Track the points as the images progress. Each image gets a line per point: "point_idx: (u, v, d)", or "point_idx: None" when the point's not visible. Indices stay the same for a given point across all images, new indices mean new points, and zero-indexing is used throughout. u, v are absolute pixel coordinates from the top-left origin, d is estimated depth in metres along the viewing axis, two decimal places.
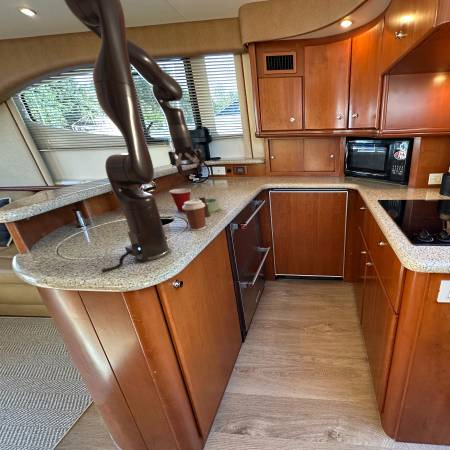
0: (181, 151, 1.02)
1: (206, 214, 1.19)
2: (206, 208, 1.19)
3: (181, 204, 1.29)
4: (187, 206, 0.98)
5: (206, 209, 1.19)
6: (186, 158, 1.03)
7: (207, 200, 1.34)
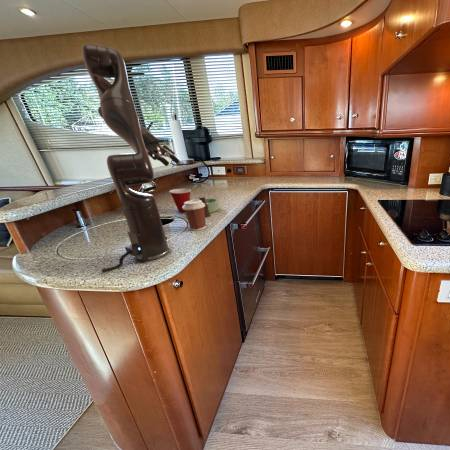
0: (154, 146, 1.09)
1: (206, 214, 1.19)
2: (206, 208, 1.19)
3: (181, 204, 1.29)
4: (187, 206, 0.98)
5: (206, 209, 1.19)
6: (162, 151, 1.11)
7: (207, 200, 1.34)
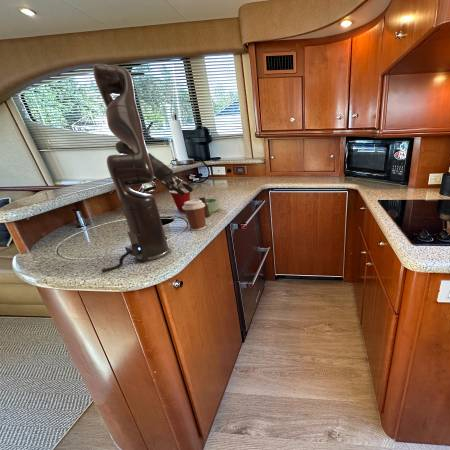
0: (170, 177, 1.14)
1: (206, 214, 1.19)
2: (206, 208, 1.19)
3: (181, 204, 1.29)
4: (187, 206, 0.98)
5: (206, 209, 1.19)
6: (177, 181, 1.16)
7: (207, 200, 1.34)
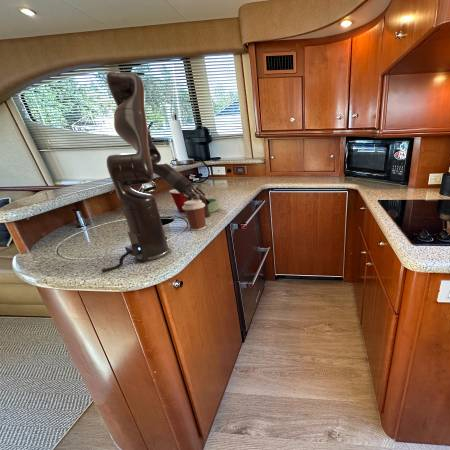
0: (188, 188, 1.15)
1: (206, 214, 1.19)
2: (206, 208, 1.19)
3: (181, 204, 1.29)
4: (187, 206, 0.98)
5: (206, 209, 1.19)
6: (195, 192, 1.17)
7: None
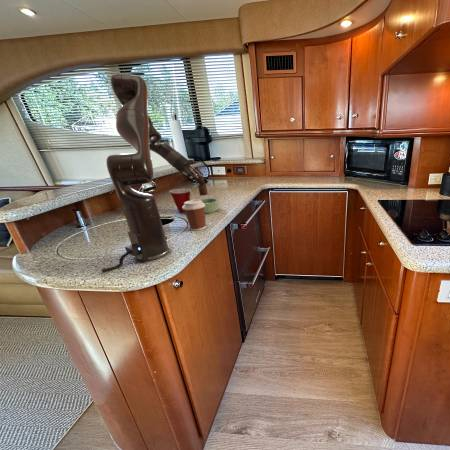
0: (187, 167, 1.22)
1: (204, 192, 1.26)
2: (204, 186, 1.25)
3: (181, 204, 1.29)
4: (187, 206, 0.98)
5: (204, 187, 1.25)
6: (194, 171, 1.24)
7: (207, 200, 1.34)
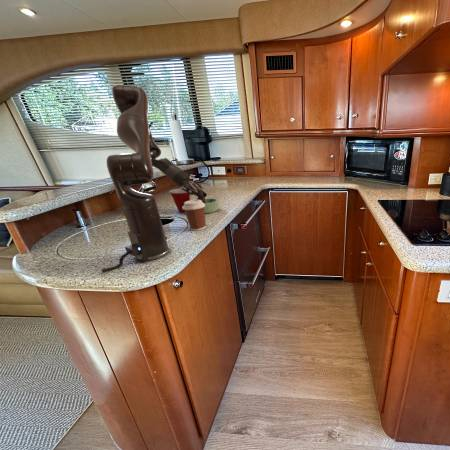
0: (186, 181, 1.23)
1: None
2: (203, 200, 1.26)
3: (181, 204, 1.29)
4: (187, 206, 0.98)
5: (203, 201, 1.26)
6: (193, 185, 1.25)
7: (207, 200, 1.34)
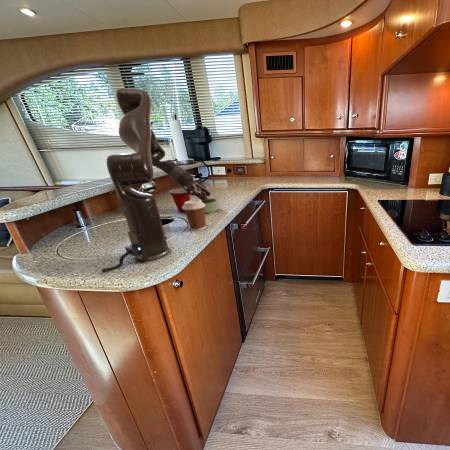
0: (190, 183, 1.25)
1: None
2: (207, 202, 1.28)
3: (181, 204, 1.29)
4: (187, 206, 0.98)
5: None
6: (197, 186, 1.27)
7: None
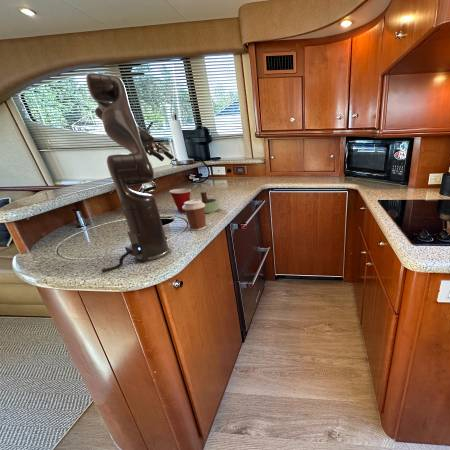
0: (150, 143, 1.15)
1: None
2: (207, 202, 1.28)
3: (181, 204, 1.29)
4: (187, 206, 0.98)
5: None
6: (157, 147, 1.17)
7: None
